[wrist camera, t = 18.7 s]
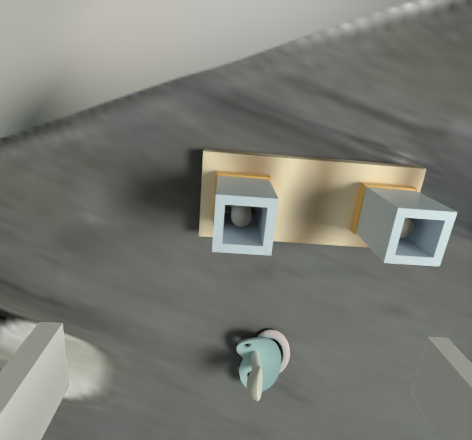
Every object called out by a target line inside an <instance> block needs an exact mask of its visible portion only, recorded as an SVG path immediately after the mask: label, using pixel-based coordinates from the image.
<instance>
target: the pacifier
mask: <svg viewBox="0 0 472 440" xmlns="http://www.w3.org/2000/svg"><path fill="white" fill-rule="evenodd" d="M267 338H273V339H276V340H277V341H278V342H279V343H280V345H281V346H282V357H281V353H280V350H279V347H278V346H277V344H276V343H275V342H274V341H272V340H270V339H267ZM245 344H248V346H244V345H245ZM237 352H238V354H239V355H240V356H241V357H243V360H242V362H241V364H240V369H239V374H240V379H241V381H242V383H243V385H244V386H245V387H246V388H247V390H248V393H249V395H250V397H251V398H252V399H254V400H256V401H259V400H260V397H261V393H262V391H264V390H266V389H268V388H269V387H270V386H272V385H273V384H274V382H275V381H276V379H277V377H278V375H279V373H280V372H282V371H283V370H284V369H285V367H286V366H287V364H288V361H289V358H290V348H289V344H288V341H287V339H286V338H285V337H284V335H283V334H281V333H280V332H278V331H276V330H266V331H263V332H262V333H260V334H259V335H258V337H257V338H250V339H245V340H242V341H240V342H239V343H238V345H237ZM248 372H250V374H249V376H247V374H248Z"/></svg>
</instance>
